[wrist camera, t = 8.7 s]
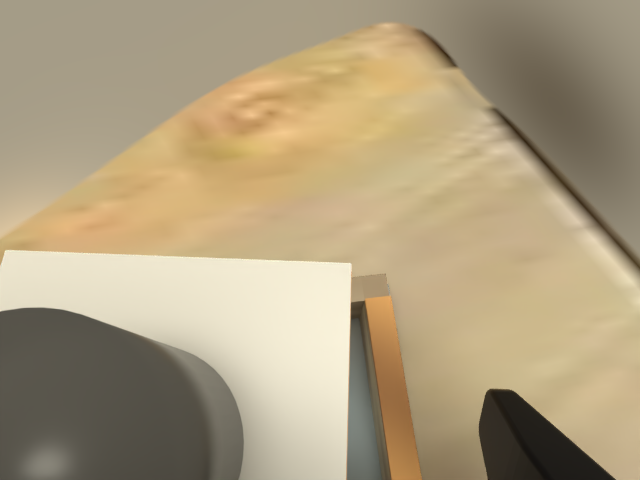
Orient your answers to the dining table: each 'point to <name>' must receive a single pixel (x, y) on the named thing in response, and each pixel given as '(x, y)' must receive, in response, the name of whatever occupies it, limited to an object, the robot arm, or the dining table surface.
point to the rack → (377, 390)
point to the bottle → (173, 368)
